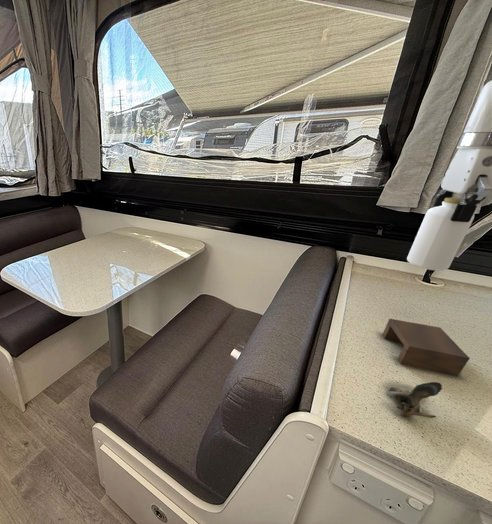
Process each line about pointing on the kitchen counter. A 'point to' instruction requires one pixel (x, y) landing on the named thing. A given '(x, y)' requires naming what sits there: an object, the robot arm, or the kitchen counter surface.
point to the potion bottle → (438, 237)
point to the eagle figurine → (415, 398)
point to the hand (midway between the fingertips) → (448, 216)
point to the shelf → (426, 347)
